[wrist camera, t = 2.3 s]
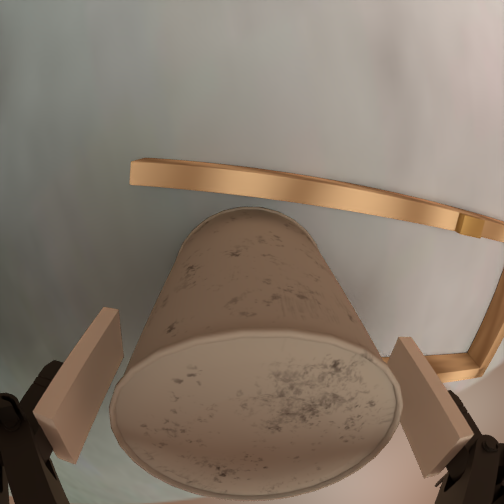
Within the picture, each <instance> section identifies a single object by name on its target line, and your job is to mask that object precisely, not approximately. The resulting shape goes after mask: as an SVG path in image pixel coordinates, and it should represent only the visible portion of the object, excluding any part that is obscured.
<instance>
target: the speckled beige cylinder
mask: <svg viewBox="0 0 504 504" xmlns="http://www.w3.org/2000/svg"><path fill="white" fill-rule="evenodd" d="M402 408H403V401H402V394H401V388H400V384H399V382H398V380H397V379H396V377H395V376H394V374H393V373H392V371H391V370H390V368H389V367H388V365H387V363H386V362H384V361H383V359H382V357H381V356H380V354H379V352H378V350H377V348H376V347H375V345H374V343H373V341H372V340H371V338H370V336H369V334H368V333H367V331H366V329H365V327H364V326H363V324H362V322H361V320H360V319H359V317H358V315H357V313H356V312H355V310H354V308H353V307H352V305H351V303H350V301H349V300H348V298H347V296H346V295H345V293H344V291H343V290H342V288H341V286H340V285H339V283H338V281H337V280H336V278H335V276H334V275H333V273H332V272H331V270H330V268H329V267H328V265H327V263H326V262H325V260H324V259H323V257H322V255H321V254H320V252H319V250H318V247H317V244H316V243H315V242H314V240H313V239H312V237H311V236H310V235H309V233H308V232H307V230H305V229H304V228H303V227H302V226H301V225H300V224H298V223H297V222H296V221H295V220H294V219H292V218H290V217H288V216H286V215H284V214H282V213H280V212H278V211H274V210H270V209H266V208H262V207H238V208H234V209H229V210H224V211H222V212H220V213H217V214H215V215H213V216H211V217H209V218H207V219H206V220H204V221H203V222H202V223H201V224H199V225H198V226H197V227H196V228H194V229H193V230H192V232H191V233H190V234H189V236H188V237H187V238H186V239H185V241H184V242H183V244H182V246H181V248H180V251H179V253H178V255H177V258H176V261H175V263H174V265H173V268H172V270H171V272H170V274H169V276H168V278H167V280H166V282H165V284H164V286H163V288H162V290H161V292H160V295H159V297H158V299H157V301H156V303H155V305H154V307H153V310H152V312H151V314H150V316H149V318H148V321H147V323H146V325H145V327H144V329H143V332H142V334H141V336H140V338H139V341H138V343H137V345H136V348H135V350H134V352H133V354H132V357H131V359H130V361H129V364H128V366H127V369H126V371H125V373H124V376H123V377H122V378H121V379H120V380H119V382H118V383H117V384H116V386H115V389H114V392H113V396H112V399H111V402H110V406H109V413H110V422H111V429H112V431H113V433H114V435H115V437H116V439H117V441H118V443H119V445H120V447H121V448H122V449H123V450H124V451H125V452H126V454H127V455H128V456H129V457H130V458H131V459H132V460H133V461H134V462H135V463H136V464H137V465H139V466H140V467H141V468H143V469H144V470H145V471H147V472H148V473H149V474H151V475H152V476H154V477H156V478H158V479H160V480H162V481H164V482H165V483H167V484H169V485H171V486H174V487H177V488H180V489H182V490H185V491H188V492H191V493H194V494H198V495H203V496H207V497H212V498H217V499H227V500H236V501H265V500H274V499H281V498H288V497H294V496H298V495H301V494H306V493H309V492H313V491H316V490H319V489H321V488H324V487H327V486H329V485H332V484H334V483H336V482H339V481H340V480H342V479H344V478H345V477H348V476H349V475H351V474H353V473H355V472H356V471H358V470H359V469H361V468H362V467H363V466H364V465H366V464H367V463H368V462H370V461H371V460H372V459H374V457H376V456H377V455H378V453H380V451H381V450H382V449H383V448H384V447H385V446H386V445H387V444H388V442H389V441H390V439H391V438H392V436H393V434H394V432H395V430H396V429H397V427H398V425H399V422H400V417H401V413H402Z"/></svg>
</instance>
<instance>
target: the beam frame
mask: <svg viewBox="0 0 504 504" xmlns="http://www.w3.org/2000/svg"><path fill="white" fill-rule="evenodd" d="M130 185H141V186H154V187H166V188H177V189H187V190H197V191H207V192H216V193H225V194H234V195H242V196H250V197H258V198H266V199H274V200H281V201H288V202H295V203H302V204H309V205H316V206H322V207H329V208H335V209H341V210H347V211H353V212H359V213H365V214H371V215H377V216H382V217H388V218H393V219H398V220H404V221H409V222H414V223H419V224H424V225H429V226H434V227H439V228H443V229H448V230H453V231H456V232H457V233H459V234H463V235H467V236H472V237H476V238H481V237H484V238H488V239H492V240H496V241H500V242H504V222H503V221H500V220H497V219H494V218H490V217H487V216H484V215H480V214H477V213H473V212H470V211H466V210H463V209H459V208H455V207H452V206H448V205H444V204H440V203H436V202H432V201H428V200H424V199H420V198H416V197H412V196H408V195H403V194H399V193H394V192H390V191H385V190H381V189H376V188H371V187H366V186H361V185H356V184H351V183H346V182H340V181H335V180H329V179H323V178H318V177H312V176H306V175H299V174H293V173H286V172H279V171H272V170H265V169H258V168H250V167H242V166H233V165H225V164H215V163H205V162H195V161H184V160H171V159H157V158H142V159H139V160H135V161H131V169H130ZM503 337H504V269H503V272H502V275H501V278H500V281H499V283H498V286H497V288H496V291H495V294H494V296H493V299H492V301H491V303H490V306H489V308H488V310H487V313H486V315H485V317H484V320H483V322H482V324H481V326H480V328H479V330H478V332H477V335H476V337H475V339H474V341H473V343H472V345H471V347H470V349H469V350H468V352H467V353H458V354H446V355H431V356H425V358H426V359H427V361H428V362H429V364H430V365H431V367H432V368H433V370H434V371H435V373H436V374H437V376H438V377H439V379H440V380H441V382H442V383H445V382H452V381H459V380H465V379H471V378H477V377H482V375H483V374H484V372H485V370H486V369H487V367H488V365H489V363H490V362H491V360H492V358H493V356H494V354H495V353H496V351H497V349H498V347H499V345H500V343H501V341H502V339H503ZM389 358H390V357H382V359H383V361H384V362H386V363H387V362H388V360H389Z"/></svg>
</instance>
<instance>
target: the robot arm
mask: <svg viewBox="0 0 504 504" xmlns="http://www.w3.org/2000/svg"><path fill="white" fill-rule="evenodd" d="M123 357H124V354H123V345H122V337H121V327H120V317H119V310H118V309H113V308H107V307H103V308H102V310H101V311H100V313H99V314H98V315H97V317H96V318H95V319H94V321H93V322H92V323H91V325H90V326H89V328H88V329H87V330H86V332H85V333H84V335H83V336H82V337H81V339H80V340H79V342H78V343H77V344H76V346H75V347H74V349H73V350H72V352H71V353H70V355H69V356H68V358H67V359H66V360H65V362H64V363H63V362H59V361H56V360H53V361H52V362H50V363H49V364H47V365H46V366H44V368H43V369H42V371H41V372H40V373H39V375H38V377H37V378H36V379H35V381H34V383H33V384H32V385H31V386H30V388H29V389H28V391H27V392H26V394H25V395H24V397H23V398H22V400H21V401H20V403H19V401H18V399H17V398H16V397H15V396H14V395H12V394H9V393H0V504H9V492H8V483H9V486H10V490H11V493H12V496H13V499H14V502H15V504H70V503H69V501H68V499H67V497H66V495H65V492H64V490H63V488H62V485H61V483H60V481H59V478H58V476H57V473H56V471H55V468H54V466H53V463H52V460H51V459H50V455H51V453H52V451H54V452H55V454H56V456H57V457H58V458H60V459H62V460H65V461H68V462H70V463H73V464H76V462H77V460H78V457H79V455H80V452H81V450H82V448H83V445H84V443H85V440H86V438H87V436H88V433H89V431H90V429H91V426H92V424H93V422H94V420H95V417H96V415H97V413H98V411H99V408H100V406H101V404H102V402H103V400H104V397H105V395H106V393H107V391H108V389H109V387H110V385H111V382H112V380H113V378H114V376H115V374H116V372H117V370H118V368H119V366H120V364H121V362H122V359H123ZM387 365H388V367H389V368H390V370H391V371H392V373H393V374H394V376H395V377H396V379H397V380H398V382H399V384H400V388H401V394H402V401H403V408H402V413H401V417H400V423H401V425H402V427H403V430H404V432H405V434H406V437H407V439H408V441H409V444H410V446H411V448H412V451H413V453H414V455H415V458H416V460H417V462H418V465H419V467H420V470H421V472H422V475H423V477H424V478H428V477H432V476H435V475H438V474H439V473H440V472H441V471H442V470H443V469H444V468H445V467H446V468H447V470H448V472H447V474H445V475H444V476H443V477H442V478H441V479H440V480H439V481H438V482H437V483H436V485H435V487H437V486H438V485H439V484H440V483H441V482H442V485H441V487H440V490H439V493H438V496H437V499H436V501H435V504H504V443H498V441H497V440H496V439H495V438H494V437H492V436H490V435H482V434H481V432H480V431H479V429H478V427H477V426H476V424H475V422H474V421H473V419H472V418H471V416H470V414H469V413H467V410H466V408H465V407H463V403H462V402H461V400H460V399H459V397H458V396H457V395H456V394H454V393H453V392H452V391H451V390H449V391H447V389H446V388H445V386H444V385H443V383H442V382H441V380H440V379H439V377H438V376H437V374H436V373H435V371H434V370H433V368H432V367H431V365H430V364H429V362H428V361H427V359H426V358H425V356H424V355H423V353H422V352H421V351H420V349H419V348H418V346H417V345H416V343H415V342H414V341H413V339H412V338H411V337H398V339H397V342H396V344H395V347H394V349H393V351H392V353H391V356H390V358H389V360H388V362H387Z"/></svg>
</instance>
